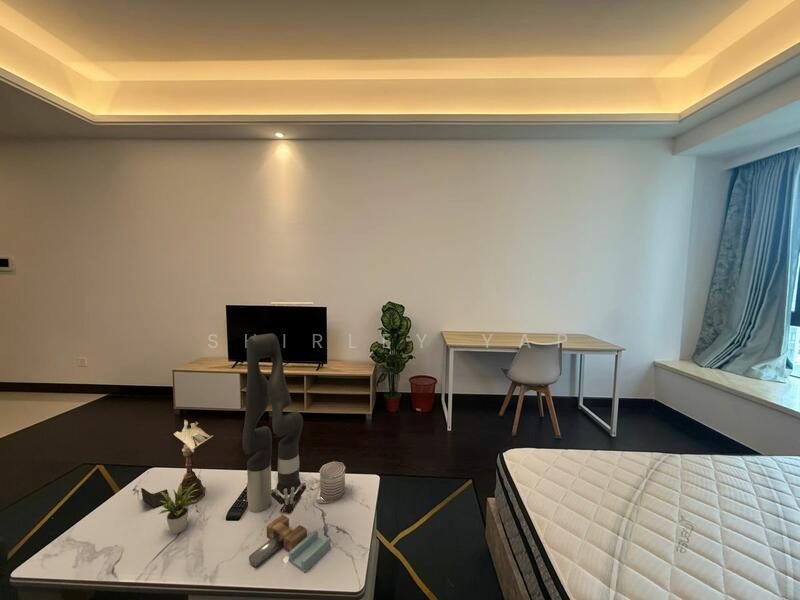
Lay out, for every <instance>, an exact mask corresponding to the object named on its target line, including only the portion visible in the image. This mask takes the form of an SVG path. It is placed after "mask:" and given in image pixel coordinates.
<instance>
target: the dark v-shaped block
mask: <svg viewBox="0 0 800 600" xmlns="http://www.w3.org/2000/svg"><path fill="white" fill-rule="evenodd" d="M140 490H141V491H140V492H141V497H142V501H143V502H144V503H146V504H148V505H149V506H151V507H152V508H153V510H155V509H158V508H160V507H163V505H166V504H165V503H163V502H160V501H165V502H167V500H166V498H165V497H164V495H163V494H162V493H161V492H163V493H165V494H167V495H169V491H168V489H167V488H166V489H164V490H160V491H158V492H155V493H151V492H149V491H148V490H146V489H145V488H143V487H141V488H140ZM169 496H170V495H169ZM167 503H168V502H167Z"/></svg>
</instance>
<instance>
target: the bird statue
mask: <svg viewBox="0 0 800 600" xmlns="http://www.w3.org/2000/svg"><path fill="white" fill-rule="evenodd" d="M183 423H184V424H183V425H184V426H183V428H182V429H181V431H175V432H174V433H173V435H174V436H175V437H176V438H177V439H179V440H180V441H181V442H183V444H184V445H183V447H182V448H181V451H182V456H184V457H185V458H186V459H185V460H186V463H185V468H186V473H184V475H183V478H182V481H181V483H180V484H181V486H182V492H183V493H182V495H181V497H182V496H184V495H185V493H186V492H187V490H188V488H190V487H191V486H192V485H193V484H195V483H196V484H195V485H194V486H193V488H192V489H191V490H190V492H191V491H193V490H197V491H194V492H192V493H191V494H190V495H189V496H193V497H190V498H189V499H188V500H187V501H186V503H187V502H188V501H191V500H195V501H196V502H193V503H191V502H190V503H191V504H190V503H188V504H186V505H185V506H184V507H187V506H188V505H189V504H190V505H189V506H191V505H194V504H198V502H200V501H201V500H202V499H204V498H205V497H206V492H207V491H206V487H205V486H204V485H203V484H202V480H201V479H200V478H198V476H197V474H196V472H195V471H193V465H194V462H193V455H194V454H195V453H196V449H197V448H198V449H199V448H201V447H203V446H204V445H206V444H207V443H208V442H210V440H211V439H212V440H214V436H215V435H213V434H212V435H210V434H208V433H206V431H204V430H203V429H202V428H201V427H200V426H198V425H199V422H198V421H195V422H193V423H190V424H189V422H188V420H186V419H184V421H183ZM189 425H190V426H191V427H189ZM180 484H179V485H180ZM186 489H187V490H186ZM185 490H186V491H185ZM184 491H185V492H184ZM190 492H189V493H190ZM189 493H188V494H189ZM174 504H175V505H176V499H175V500H174Z"/></svg>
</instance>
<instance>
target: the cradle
mask: <svg viewBox="0 0 800 600" xmlns="http://www.w3.org/2000/svg"><path fill="white" fill-rule="evenodd" d="M331 545H332V544H331V538H330V537H329V536H326V537H325V538H324V539H322V538H320V537H319V531H318V529H314V530H313V531H312V532H311V533H309V535H307V537H306V538H305V539H304V540H303V541H302V542H300V543H299V544H298V545H297V546H296V547H294V548H293V549H292V550H291V551H290V552H288V562H289V563H290V564H291V565H292V566H294V567H296V568H297V569H298V570H300V571H301V572H302V573H306V572H307V571H308V570H309V569H311V567H313V565H315V564H316V562H318V561H319V560H320V559H321V558H322V557H323V556H324V555H325V554H326V553H327V552H328V551H330V549H331V548H332V546H331Z"/></svg>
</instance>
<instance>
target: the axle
mask: <svg viewBox="0 0 800 600" xmlns="http://www.w3.org/2000/svg"><path fill="white" fill-rule="evenodd" d="M282 546H284V537H283V536H282V535H280V534H277V535H276V536H275V537H273V538H272V539H271V540H270V539H268V541H266V542H265V543H264V544H263V545H261V546H260V547H259V548H257V549H256V550H255V551H253V552H252V553H251V554H249V556H248V561H249V564H250V566H251V567H252V568H256V567H257V566H259V565H260V564H261V563H262V562H263V561H265V560H266V559H267V558H268V557H270V556H272V554H273V553H274V552H276V551H278V549H280V548H281V547H282Z"/></svg>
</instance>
